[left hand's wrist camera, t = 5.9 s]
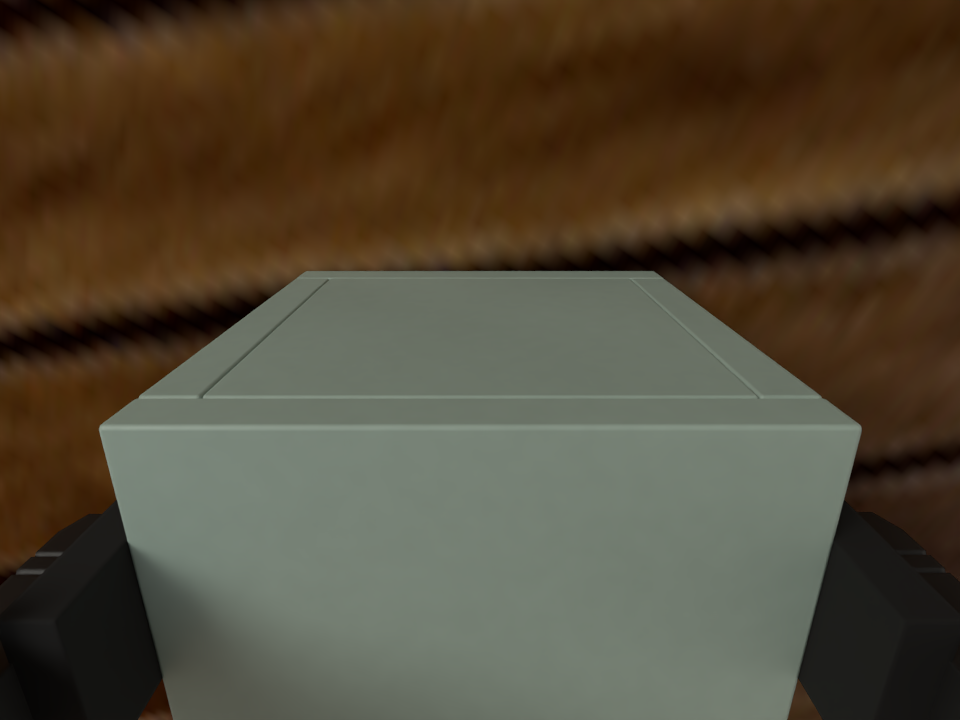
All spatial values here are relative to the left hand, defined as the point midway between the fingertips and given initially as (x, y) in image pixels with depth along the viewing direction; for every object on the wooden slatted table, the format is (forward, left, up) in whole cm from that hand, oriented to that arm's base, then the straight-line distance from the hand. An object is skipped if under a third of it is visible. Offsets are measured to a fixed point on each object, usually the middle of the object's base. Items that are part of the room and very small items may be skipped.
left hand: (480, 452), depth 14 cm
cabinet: (+1, +5, -5) cm, 7 cm away
